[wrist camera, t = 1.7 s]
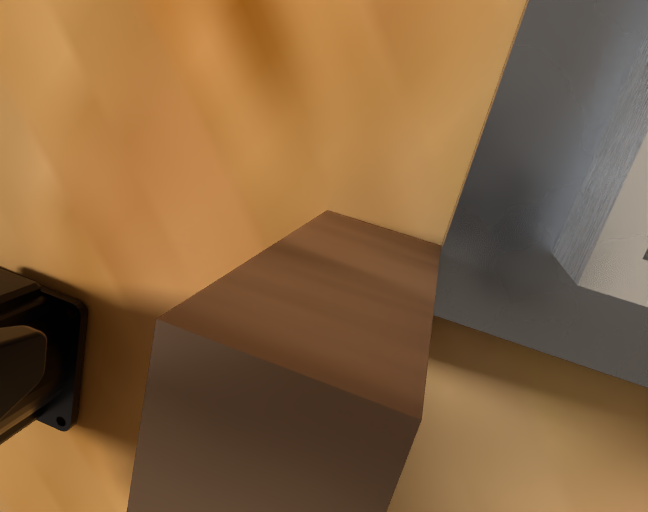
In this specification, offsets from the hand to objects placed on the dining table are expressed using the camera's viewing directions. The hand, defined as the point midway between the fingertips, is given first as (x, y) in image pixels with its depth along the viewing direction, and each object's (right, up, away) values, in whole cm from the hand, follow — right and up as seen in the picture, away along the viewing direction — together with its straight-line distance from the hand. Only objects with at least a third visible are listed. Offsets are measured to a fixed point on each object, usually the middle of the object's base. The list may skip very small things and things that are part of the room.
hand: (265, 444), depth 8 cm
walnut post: (+2, +2, +9) cm, 9 cm away
